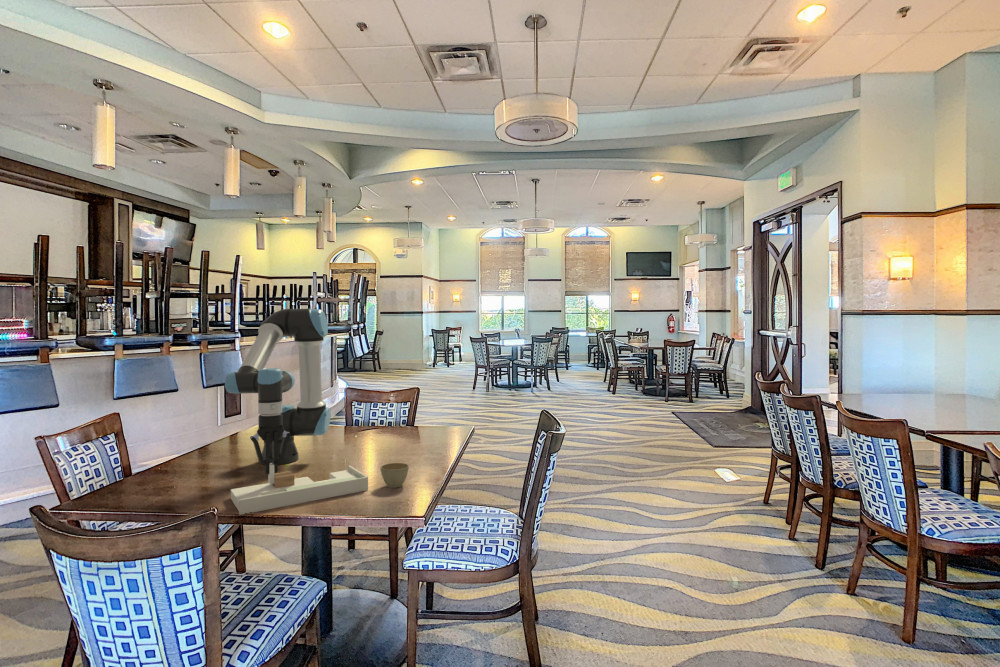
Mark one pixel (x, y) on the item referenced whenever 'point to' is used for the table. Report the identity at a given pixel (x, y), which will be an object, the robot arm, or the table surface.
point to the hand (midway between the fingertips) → (271, 483)
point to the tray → (298, 491)
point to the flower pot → (394, 474)
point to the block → (283, 479)
